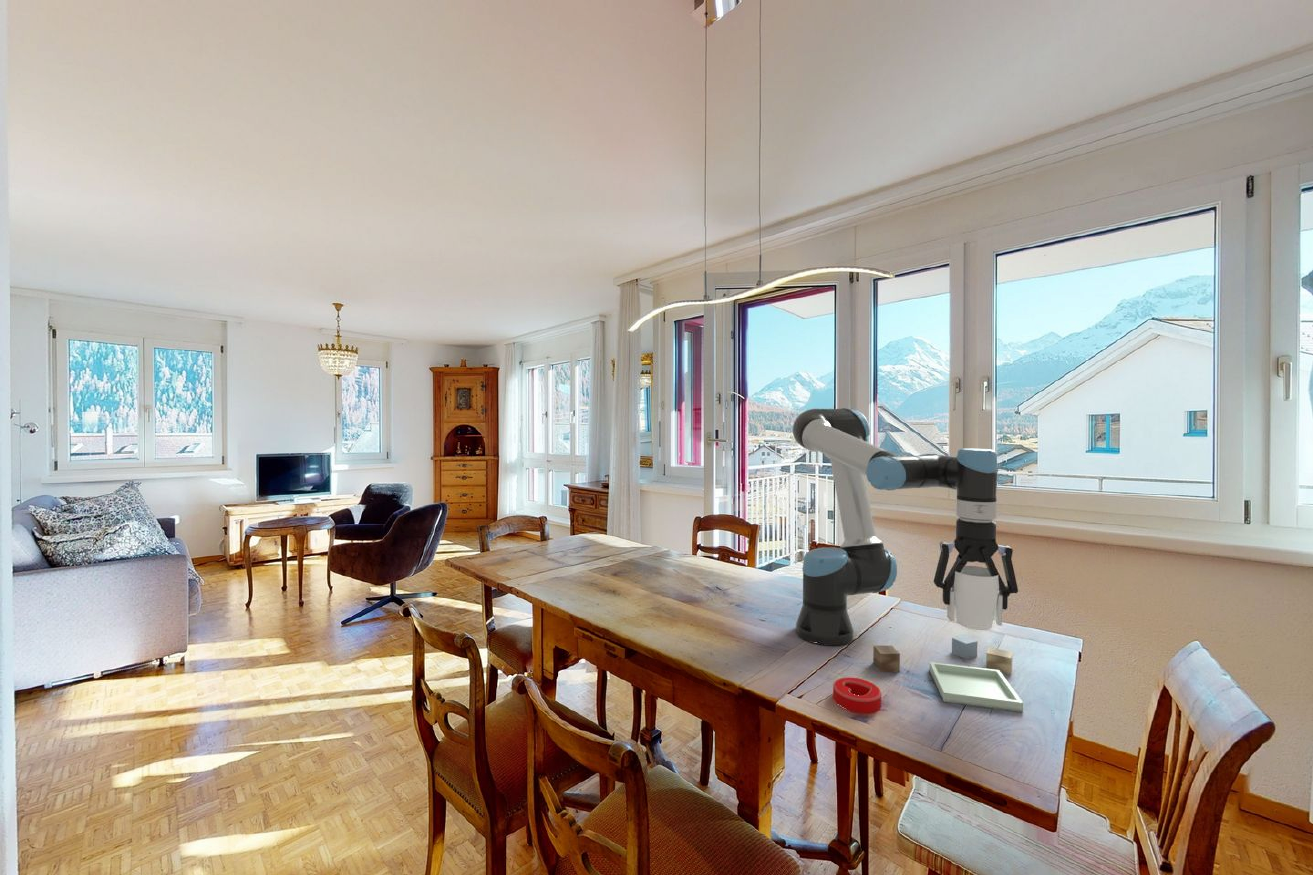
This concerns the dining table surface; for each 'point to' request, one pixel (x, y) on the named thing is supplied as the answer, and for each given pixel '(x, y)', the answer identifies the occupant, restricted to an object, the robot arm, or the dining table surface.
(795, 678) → the dining table surface
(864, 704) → the decorative ornament
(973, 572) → the cup
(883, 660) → the walnut block
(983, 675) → the tray
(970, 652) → the slate blue block
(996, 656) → the oak block
